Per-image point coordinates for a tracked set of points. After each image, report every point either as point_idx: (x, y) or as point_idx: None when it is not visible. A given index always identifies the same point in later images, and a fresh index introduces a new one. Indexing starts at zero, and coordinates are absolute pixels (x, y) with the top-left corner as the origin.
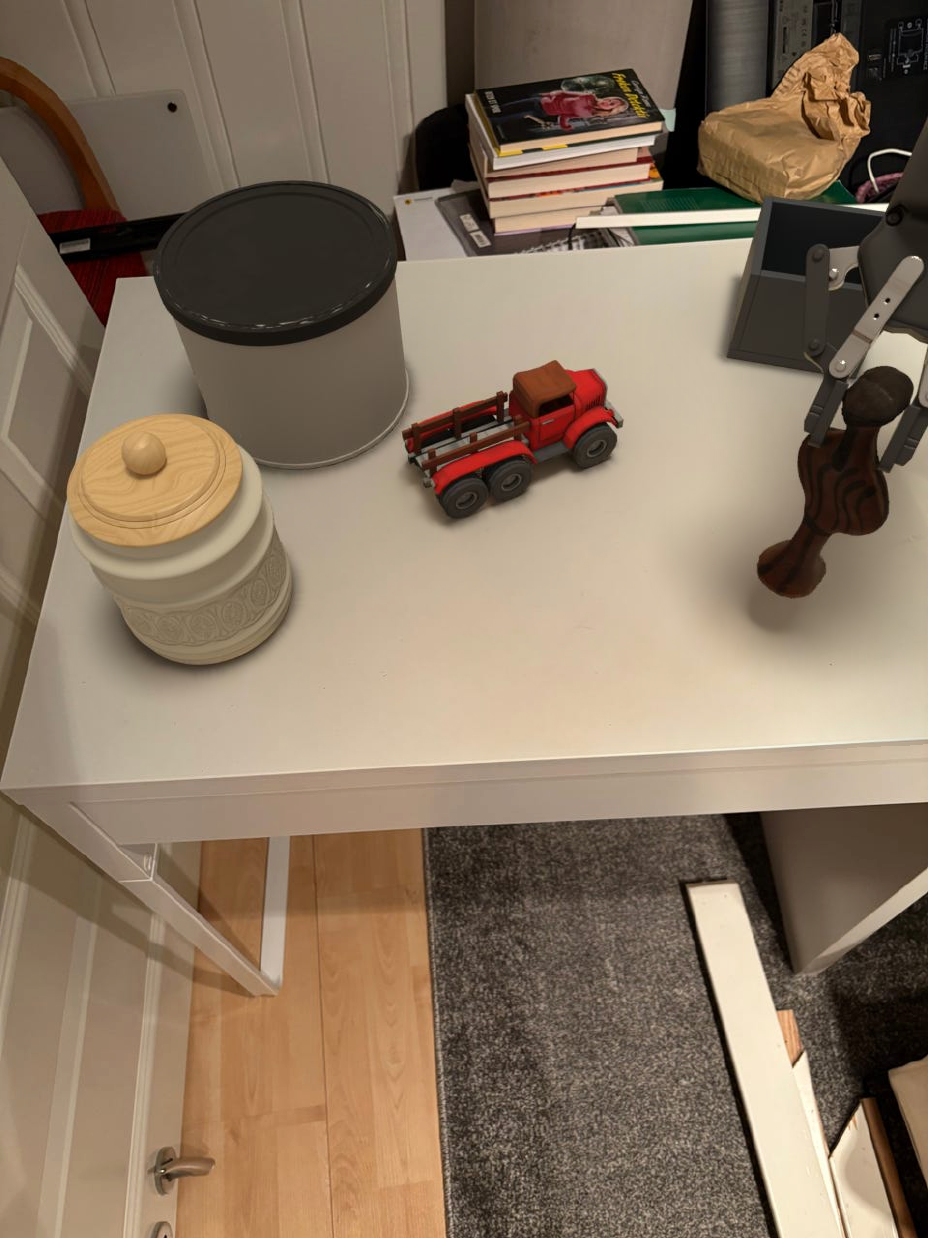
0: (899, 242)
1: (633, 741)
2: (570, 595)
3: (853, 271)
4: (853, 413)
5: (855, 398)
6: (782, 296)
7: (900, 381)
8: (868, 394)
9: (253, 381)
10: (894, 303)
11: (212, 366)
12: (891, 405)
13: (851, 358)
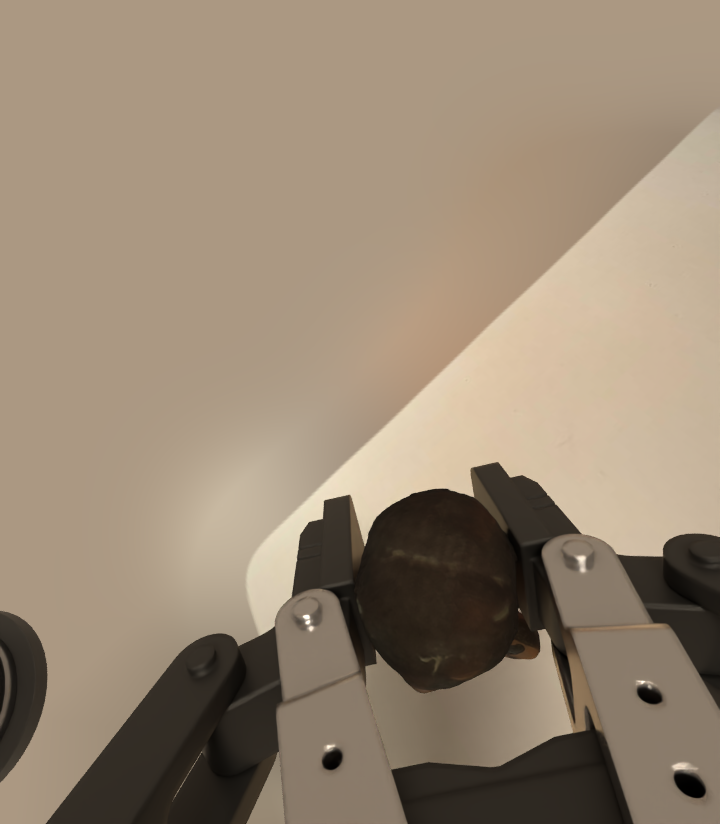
0: None
1: (439, 382)
2: (609, 462)
3: None
4: (452, 493)
5: (475, 521)
6: None
7: (405, 612)
8: (453, 532)
9: None
10: (644, 779)
11: None
12: (385, 539)
13: (573, 578)
